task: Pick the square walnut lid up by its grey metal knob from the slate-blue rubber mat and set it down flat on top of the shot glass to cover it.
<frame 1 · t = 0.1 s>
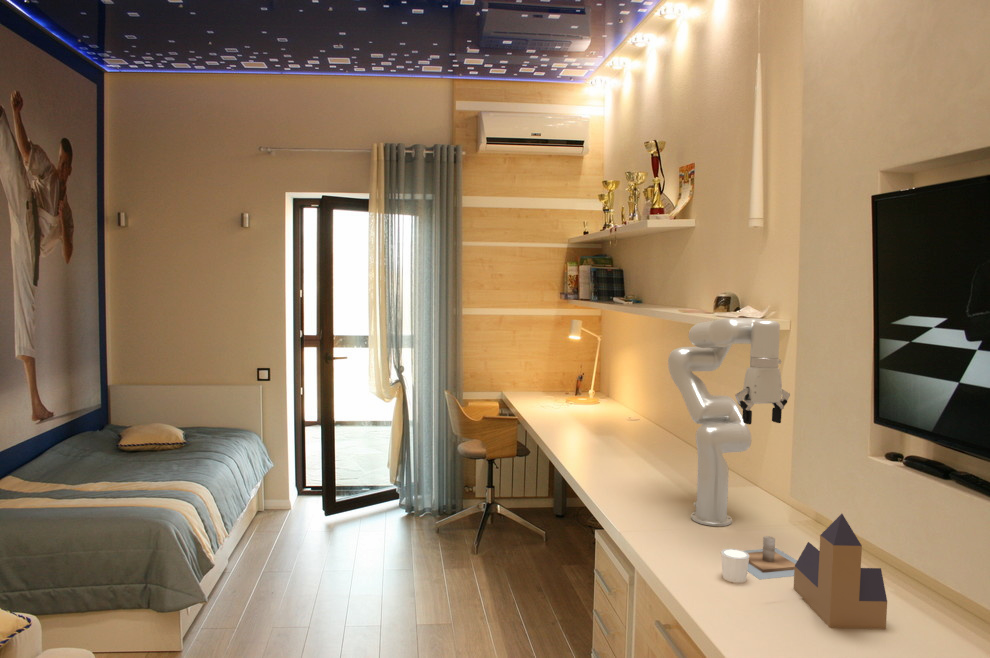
hand: (761, 422, 196), 37 cm above the table, tool pointing down, fingers open, 9 cm apart
lid: (768, 562, 187), resting on mat
mat: (768, 564, 187), on the table
toy building blocks: (836, 609, 162), on the table
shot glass: (734, 580, 176), on the table
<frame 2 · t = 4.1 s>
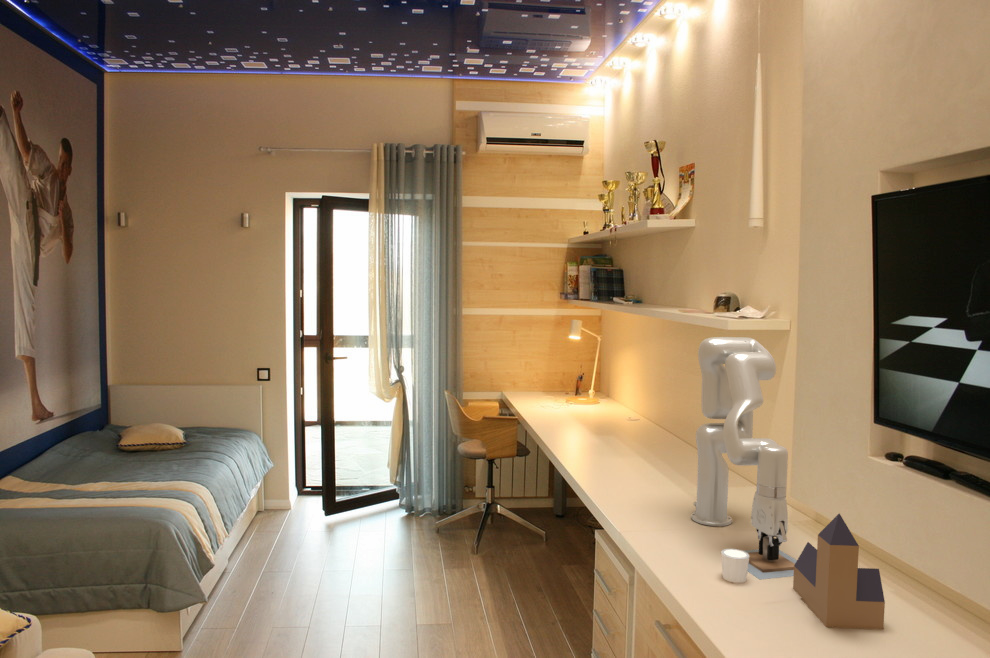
hand: (768, 556, 187), 2 cm above the table, tool pointing down, fingers closed on lid, 3 cm apart
lid: (768, 562, 187), resting on mat, touching gripper
everything else where it was.
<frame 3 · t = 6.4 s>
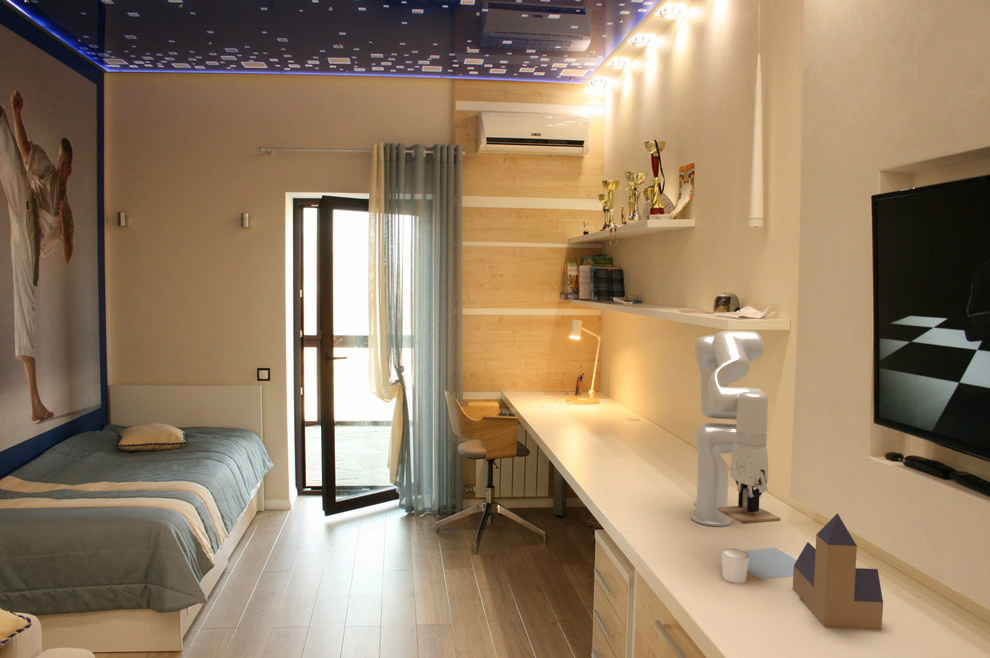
hand: (748, 508, 178), 18 cm above the table, tool pointing down, fingers closed on lid, 3 cm apart
lid: (748, 515, 178), point 16 cm above the table, touching gripper
everything else where it was.
when the fingers open (10 cm above the table, at t = 8.7 s): lid drops 2 cm, resting on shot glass.
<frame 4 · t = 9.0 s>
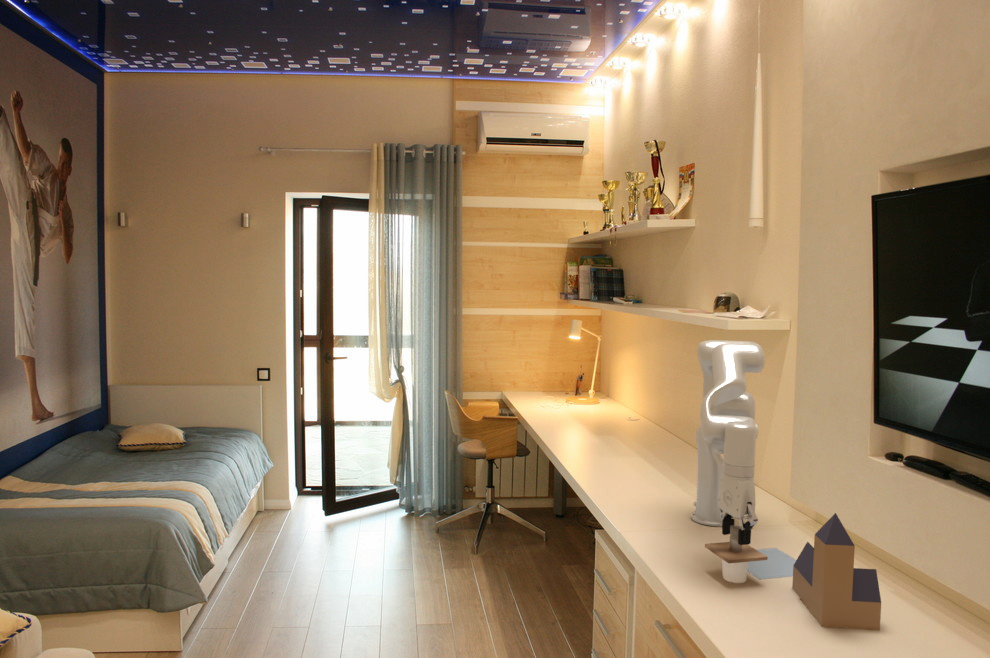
hand: (735, 538, 176), 11 cm above the table, tool pointing down, fingers open, 6 cm apart
lid: (735, 553, 176), point 7 cm above the table, touching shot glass
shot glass: (734, 580, 176), on the table, touching lid
everything else where it was.
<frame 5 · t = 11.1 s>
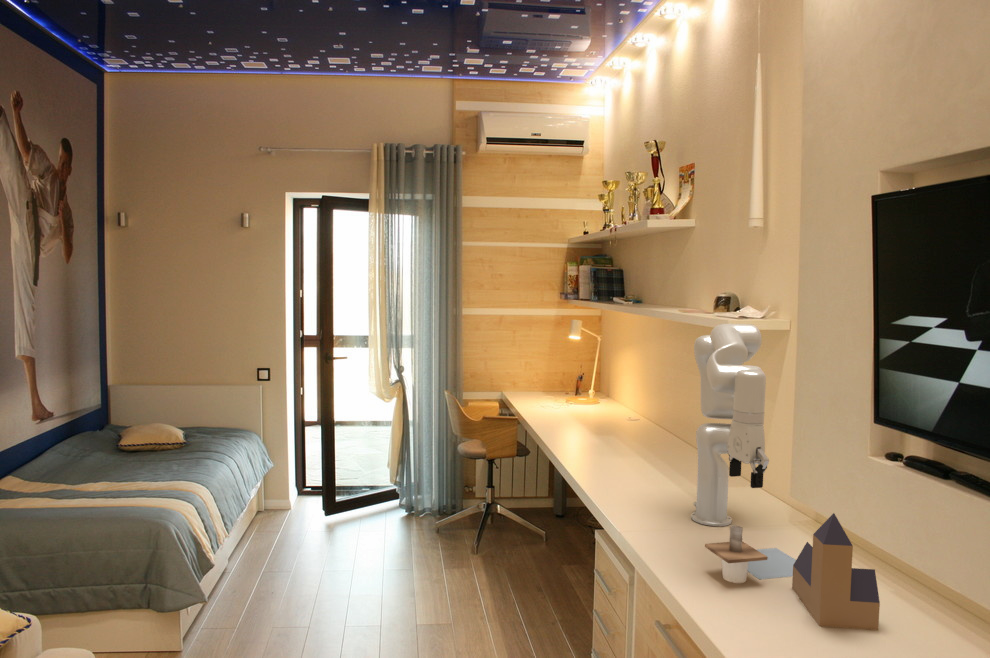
hand: (745, 481, 179), 24 cm above the table, tool pointing down, fingers open, 9 cm apart
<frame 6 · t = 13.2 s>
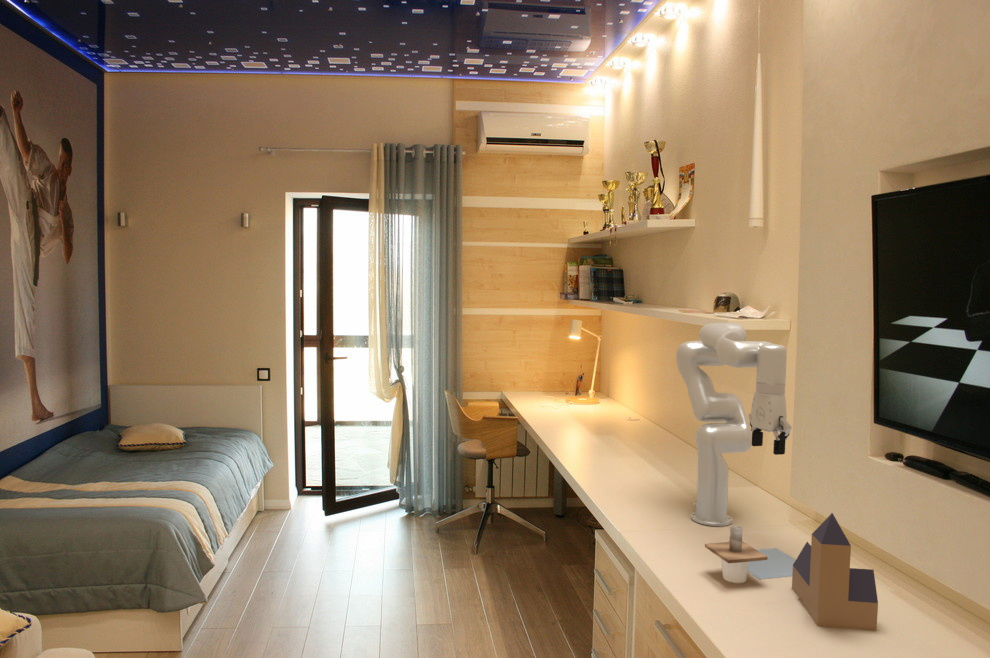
hand: (767, 449, 190), 30 cm above the table, tool pointing down, fingers open, 9 cm apart
at the end: lid 0.0 cm off-centre on the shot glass, point 7.2 cm above the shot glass's base; lid tilted 0°; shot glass tilted 0° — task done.
